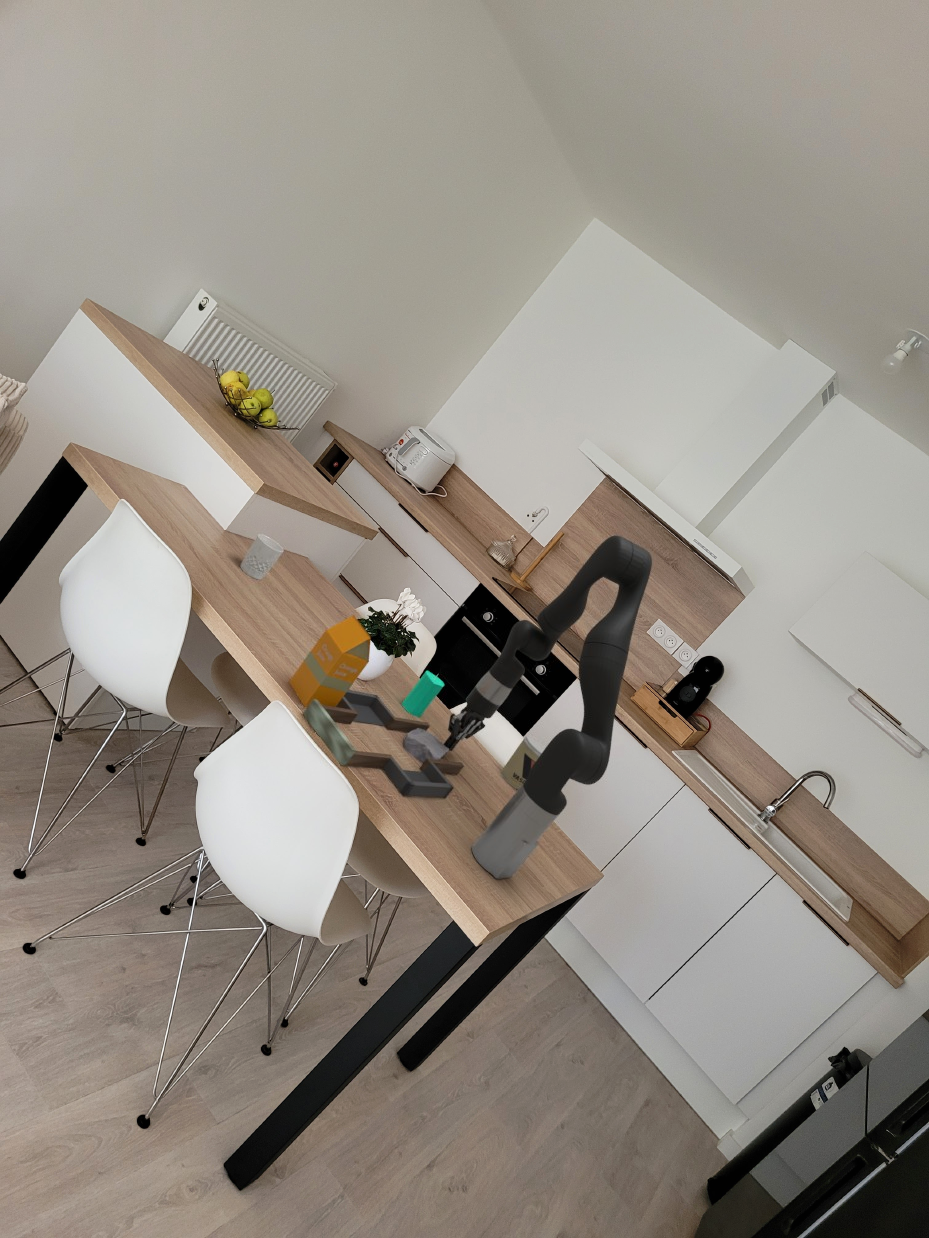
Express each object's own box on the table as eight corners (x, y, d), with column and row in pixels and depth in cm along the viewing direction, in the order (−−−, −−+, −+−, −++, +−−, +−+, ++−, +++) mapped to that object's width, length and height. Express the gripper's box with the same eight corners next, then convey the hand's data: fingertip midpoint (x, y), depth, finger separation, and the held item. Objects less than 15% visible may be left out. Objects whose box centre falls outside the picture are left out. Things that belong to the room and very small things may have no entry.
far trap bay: (387, 726, 192) (395, 717, 191) (344, 720, 180) (351, 709, 179) (369, 704, 196) (376, 695, 196) (325, 696, 184) (333, 686, 183)
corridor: (457, 775, 194) (467, 762, 193) (340, 765, 161) (352, 750, 160) (420, 731, 202) (429, 719, 202) (302, 713, 169) (313, 699, 168)
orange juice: (304, 706, 173) (357, 632, 168) (288, 681, 178) (339, 609, 174) (331, 713, 178) (384, 642, 174) (315, 688, 184) (366, 619, 180)
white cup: (232, 563, 219) (252, 533, 217) (247, 563, 226) (266, 534, 224) (254, 581, 217) (275, 551, 215) (268, 580, 225) (288, 551, 223)
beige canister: (503, 783, 209) (532, 748, 206) (494, 763, 217) (522, 729, 215) (531, 798, 213) (559, 763, 210) (521, 777, 221) (548, 744, 219)
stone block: (394, 752, 188) (433, 772, 186) (403, 733, 187) (442, 754, 186) (408, 741, 199) (444, 760, 198) (416, 723, 199) (452, 743, 197)
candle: (398, 702, 210) (425, 666, 207) (408, 701, 215) (435, 666, 213) (414, 718, 208) (442, 681, 205) (424, 716, 213) (451, 681, 211)
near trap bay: (446, 797, 179) (454, 787, 179) (403, 795, 167) (411, 785, 166) (425, 772, 184) (433, 762, 183) (381, 768, 171) (390, 758, 170)
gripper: (484, 700, 188) (440, 757, 192) (513, 707, 199) (470, 760, 202) (464, 680, 192) (421, 735, 196) (494, 687, 203) (453, 740, 207)
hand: (446, 748), depth 199 cm, fingers closed
